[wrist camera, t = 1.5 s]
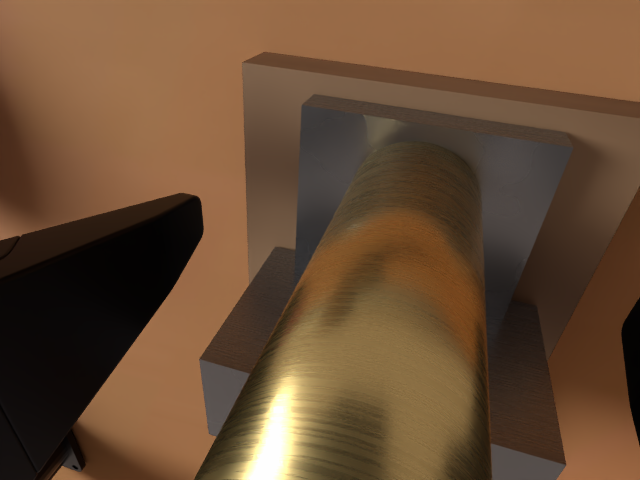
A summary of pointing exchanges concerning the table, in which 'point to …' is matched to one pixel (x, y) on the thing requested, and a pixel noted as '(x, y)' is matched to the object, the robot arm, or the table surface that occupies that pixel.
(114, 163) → the table surface
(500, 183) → the sliding jaw
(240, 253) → the table surface
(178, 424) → the table surface
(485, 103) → the cracker base
